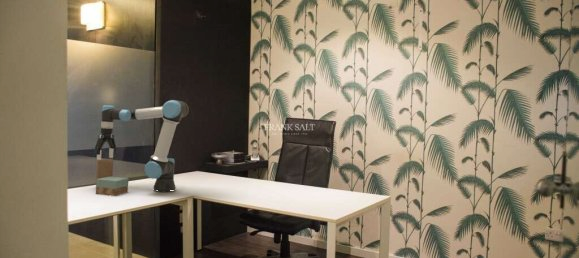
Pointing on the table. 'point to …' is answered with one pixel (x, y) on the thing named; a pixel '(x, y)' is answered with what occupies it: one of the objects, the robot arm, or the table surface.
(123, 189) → the tower base
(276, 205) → the table surface
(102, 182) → the tower top
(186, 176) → the table surface
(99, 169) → the block
